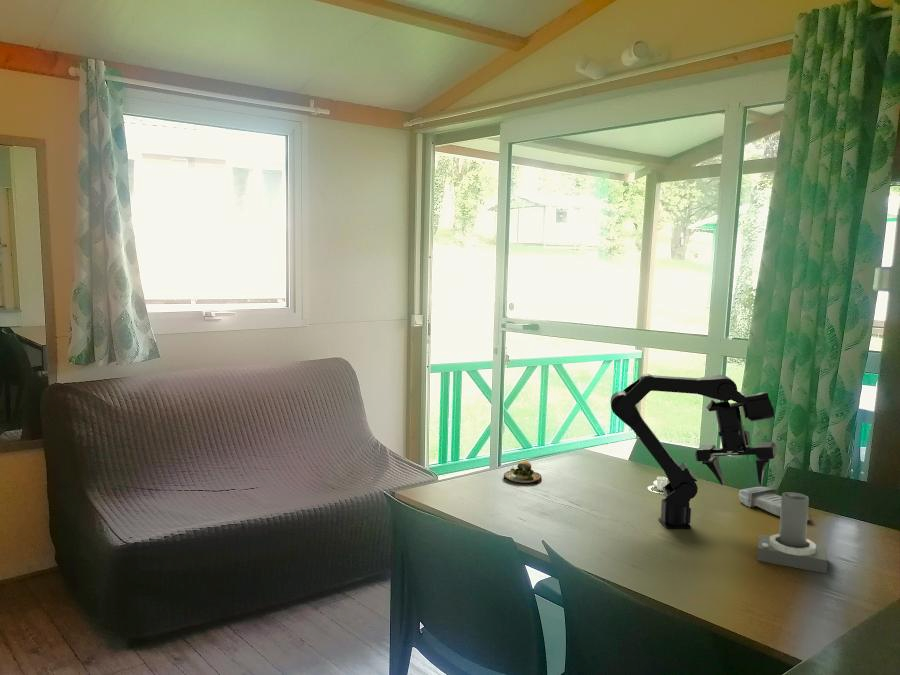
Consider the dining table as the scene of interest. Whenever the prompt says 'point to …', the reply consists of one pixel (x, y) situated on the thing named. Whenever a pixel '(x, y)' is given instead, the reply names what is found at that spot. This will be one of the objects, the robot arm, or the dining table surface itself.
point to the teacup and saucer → (659, 484)
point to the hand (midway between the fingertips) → (741, 484)
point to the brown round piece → (523, 473)
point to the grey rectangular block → (792, 554)
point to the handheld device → (762, 499)
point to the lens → (793, 520)
